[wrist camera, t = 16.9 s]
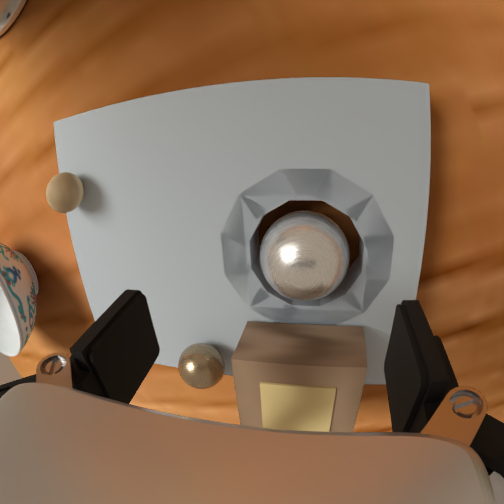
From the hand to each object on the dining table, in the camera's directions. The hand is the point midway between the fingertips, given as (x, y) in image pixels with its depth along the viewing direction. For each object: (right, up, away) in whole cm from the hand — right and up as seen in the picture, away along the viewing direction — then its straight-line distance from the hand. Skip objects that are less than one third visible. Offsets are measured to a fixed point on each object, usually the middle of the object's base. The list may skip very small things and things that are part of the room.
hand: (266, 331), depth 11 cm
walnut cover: (+4, -6, +13) cm, 15 cm away
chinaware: (-30, 0, +23) cm, 38 cm away
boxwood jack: (-15, +8, +11) cm, 20 cm away
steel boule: (+3, +3, +10) cm, 11 cm away
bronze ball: (-5, -6, +13) cm, 16 cm away
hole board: (-2, +4, +14) cm, 15 cm away
